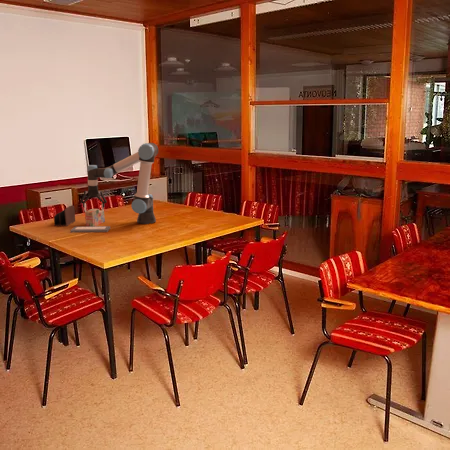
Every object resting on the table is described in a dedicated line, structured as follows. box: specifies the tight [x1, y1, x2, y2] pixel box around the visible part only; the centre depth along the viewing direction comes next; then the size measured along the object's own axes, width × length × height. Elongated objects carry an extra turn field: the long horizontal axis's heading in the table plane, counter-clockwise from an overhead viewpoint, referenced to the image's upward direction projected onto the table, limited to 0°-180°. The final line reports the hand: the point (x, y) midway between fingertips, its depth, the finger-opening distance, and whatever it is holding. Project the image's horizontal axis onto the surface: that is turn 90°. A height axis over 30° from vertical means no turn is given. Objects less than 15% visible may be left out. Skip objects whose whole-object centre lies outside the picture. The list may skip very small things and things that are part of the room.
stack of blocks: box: [84, 208, 106, 226], centre depth 391 cm, size 21×6×12 cm, turn 169°
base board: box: [70, 225, 111, 233], centre depth 372 cm, size 27×13×2 cm, turn 93°
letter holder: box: [53, 205, 76, 227], centre depth 393 cm, size 10×20×14 cm, turn 177°
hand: (94, 211), depth 390 cm, fingers open, 13 cm apart
